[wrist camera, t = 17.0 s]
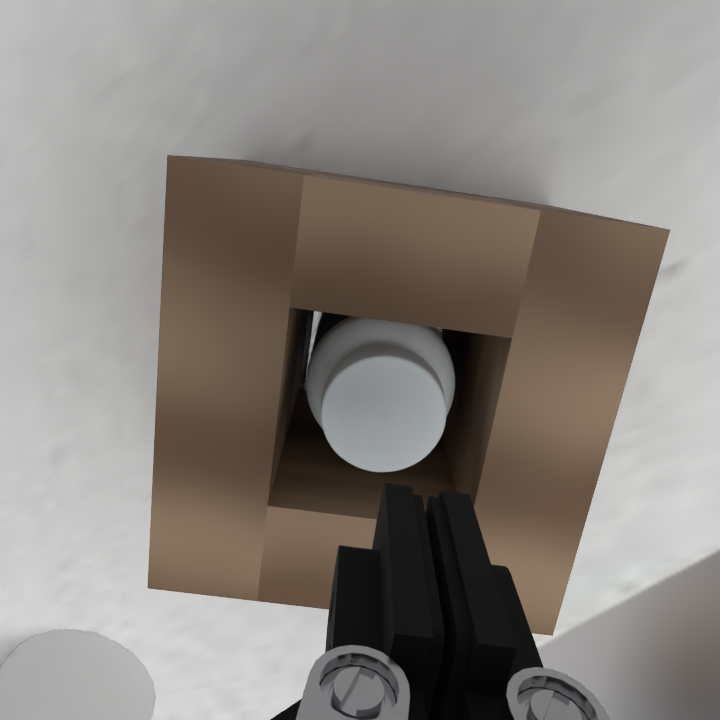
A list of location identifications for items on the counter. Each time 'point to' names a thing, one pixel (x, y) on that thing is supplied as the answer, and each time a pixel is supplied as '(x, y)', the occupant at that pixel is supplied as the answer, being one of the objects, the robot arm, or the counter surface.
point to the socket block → (389, 303)
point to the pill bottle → (379, 389)
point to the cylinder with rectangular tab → (74, 679)
